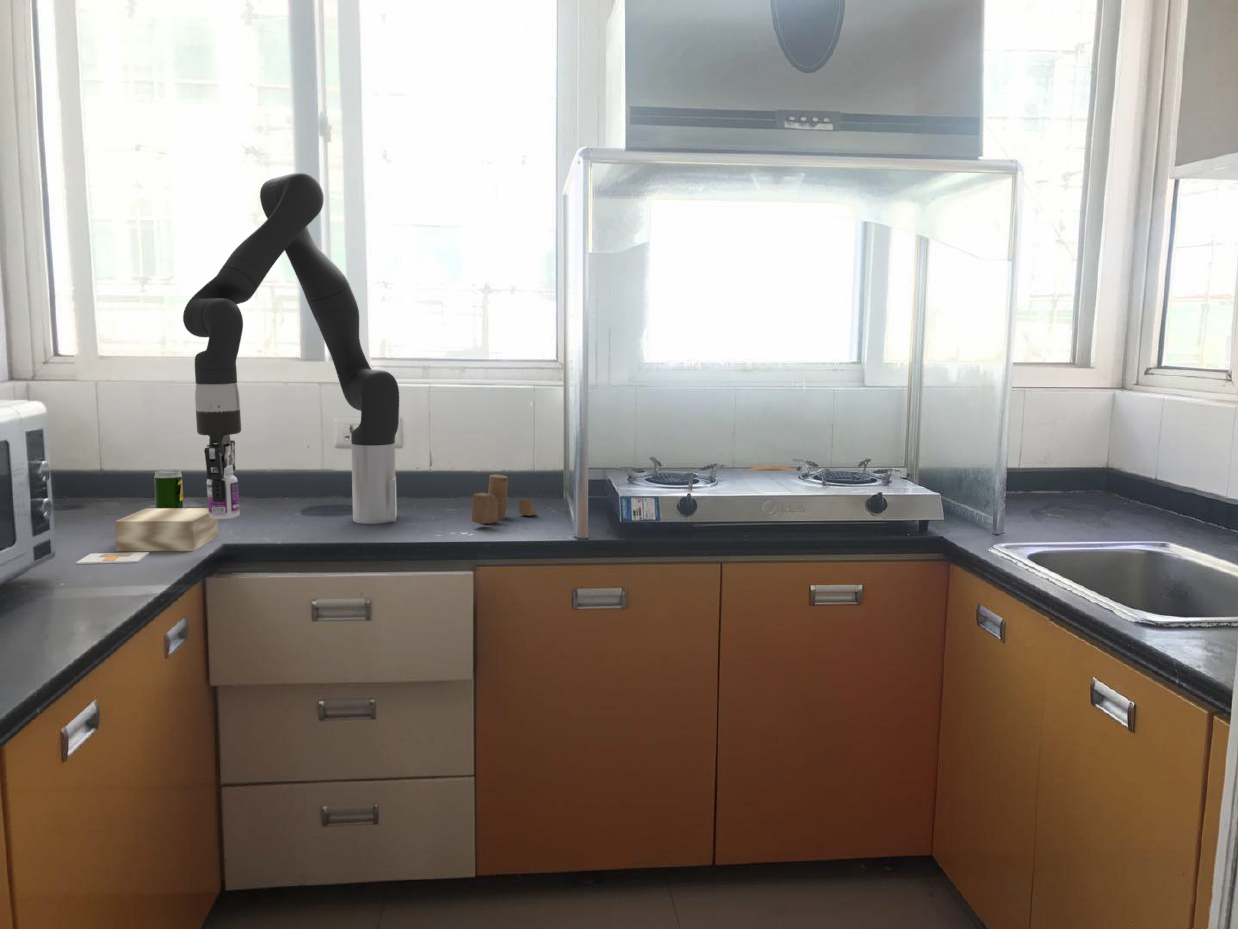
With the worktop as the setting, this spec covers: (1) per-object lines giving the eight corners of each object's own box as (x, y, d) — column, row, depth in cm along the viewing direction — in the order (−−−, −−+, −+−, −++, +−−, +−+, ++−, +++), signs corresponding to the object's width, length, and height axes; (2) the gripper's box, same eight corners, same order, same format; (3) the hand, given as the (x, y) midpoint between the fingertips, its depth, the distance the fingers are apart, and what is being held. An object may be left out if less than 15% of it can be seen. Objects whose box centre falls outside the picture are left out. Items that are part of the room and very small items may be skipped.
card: (149, 553, 171) (149, 551, 171) (137, 562, 164) (137, 560, 164) (90, 555, 169) (90, 553, 169) (76, 564, 162) (76, 561, 162)
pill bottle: (230, 512, 176) (227, 462, 174) (245, 516, 172) (242, 465, 171) (203, 517, 172) (200, 466, 170) (217, 520, 168) (214, 468, 167)
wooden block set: (488, 533, 194) (492, 485, 193) (456, 525, 198) (459, 479, 197) (536, 521, 210) (540, 477, 209) (505, 515, 214) (509, 471, 213)
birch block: (218, 537, 188) (217, 508, 187) (194, 552, 174) (192, 521, 173) (146, 537, 186) (145, 508, 186) (116, 552, 172) (114, 521, 172)
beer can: (158, 531, 191) (155, 473, 190) (154, 526, 196) (152, 470, 194) (186, 528, 194) (184, 472, 193) (182, 524, 199) (180, 469, 197)
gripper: (231, 411, 163) (236, 505, 165) (247, 405, 177) (251, 491, 179) (186, 411, 161) (192, 506, 164) (205, 405, 175) (210, 492, 178)
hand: (223, 498), depth 172 cm, fingers closed on pill bottle, 5 cm apart
